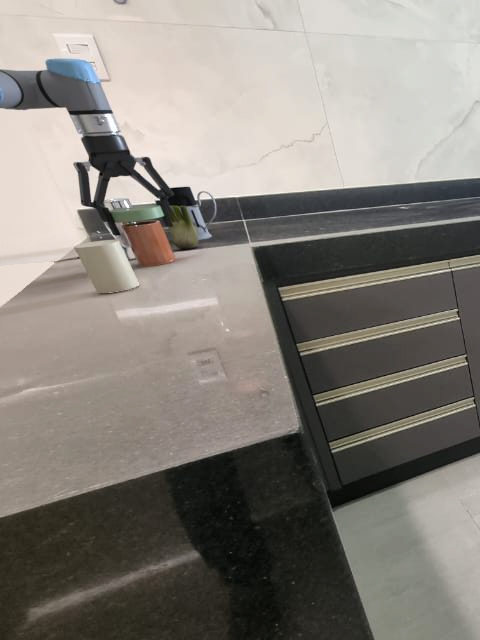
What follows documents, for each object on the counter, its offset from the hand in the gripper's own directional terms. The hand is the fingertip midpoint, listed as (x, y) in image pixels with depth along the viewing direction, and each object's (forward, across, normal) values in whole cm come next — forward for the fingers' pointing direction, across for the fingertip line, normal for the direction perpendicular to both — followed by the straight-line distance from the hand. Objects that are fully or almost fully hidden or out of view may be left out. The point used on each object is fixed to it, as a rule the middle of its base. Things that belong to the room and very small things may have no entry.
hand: (144, 230), depth 133 cm
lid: (-3, 0, 0) cm, 3 cm away
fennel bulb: (+8, +11, +12) cm, 18 cm away
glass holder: (+8, +20, +26) cm, 34 cm away
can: (+8, -14, -22) cm, 27 cm away
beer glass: (+8, 0, +14) cm, 16 cm away
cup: (+8, 0, 0) cm, 8 cm away
